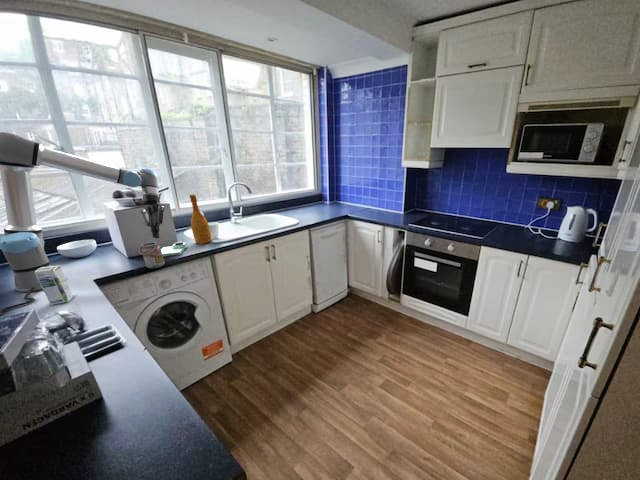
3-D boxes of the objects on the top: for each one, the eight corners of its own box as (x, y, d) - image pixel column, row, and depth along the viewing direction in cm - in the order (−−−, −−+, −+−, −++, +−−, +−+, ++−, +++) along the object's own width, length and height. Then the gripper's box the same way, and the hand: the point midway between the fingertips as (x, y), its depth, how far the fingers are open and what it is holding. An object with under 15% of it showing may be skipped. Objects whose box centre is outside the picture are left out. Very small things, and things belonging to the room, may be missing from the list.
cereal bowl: (68, 253, 174) (63, 242, 171) (103, 248, 180) (99, 237, 177) (56, 262, 160) (50, 250, 157) (94, 257, 166) (89, 245, 163)
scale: (182, 254, 168) (180, 249, 167) (156, 257, 164) (155, 252, 163) (188, 246, 180) (186, 241, 179) (164, 249, 177) (163, 244, 176)
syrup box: (49, 305, 116) (32, 272, 110) (57, 298, 121) (41, 266, 115) (68, 302, 118) (52, 269, 112) (74, 295, 123) (59, 264, 117)
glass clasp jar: (156, 270, 147) (148, 247, 142) (140, 269, 148) (133, 247, 143) (169, 263, 155) (162, 241, 150) (154, 262, 156) (147, 241, 151)
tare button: (182, 245, 174) (181, 242, 174) (174, 246, 173) (173, 243, 173) (183, 243, 178) (183, 241, 177) (176, 244, 177) (175, 241, 176)
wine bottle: (200, 245, 182) (188, 196, 170) (192, 242, 187) (179, 195, 175) (215, 241, 190) (204, 193, 178) (206, 238, 195) (195, 192, 183)
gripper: (167, 196, 164) (172, 236, 161) (146, 202, 165) (150, 242, 162) (156, 191, 157) (161, 233, 154) (134, 197, 158) (139, 239, 155)
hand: (156, 237), depth 158 cm, fingers closed
